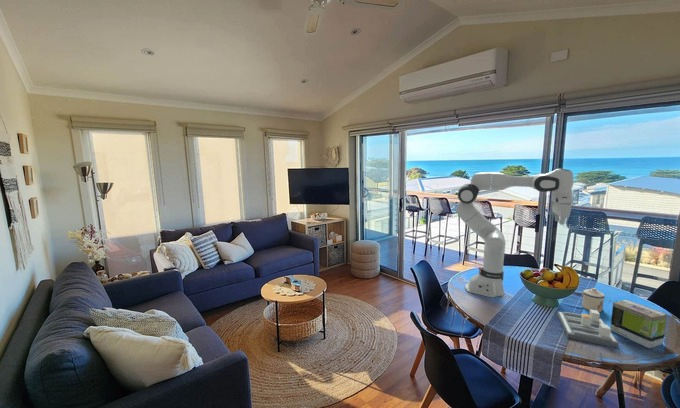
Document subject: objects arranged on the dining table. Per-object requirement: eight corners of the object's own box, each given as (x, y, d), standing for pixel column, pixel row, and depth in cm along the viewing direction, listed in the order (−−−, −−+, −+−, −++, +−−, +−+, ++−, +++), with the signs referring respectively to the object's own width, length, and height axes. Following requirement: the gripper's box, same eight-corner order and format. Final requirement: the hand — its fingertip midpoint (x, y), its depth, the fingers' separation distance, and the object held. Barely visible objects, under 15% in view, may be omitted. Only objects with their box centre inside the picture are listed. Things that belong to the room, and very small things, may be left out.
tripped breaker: (582, 327, 141) (583, 316, 140) (580, 323, 144) (581, 313, 143) (590, 328, 139) (591, 318, 139) (588, 324, 143) (589, 314, 142)
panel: (567, 337, 136) (568, 323, 135) (557, 314, 156) (558, 302, 155) (618, 347, 128) (620, 333, 127) (600, 322, 148) (602, 309, 147)
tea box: (663, 344, 130) (668, 313, 127) (648, 349, 127) (653, 317, 125) (623, 326, 144) (626, 298, 142) (608, 330, 141) (612, 301, 139)
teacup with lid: (601, 314, 155) (604, 293, 153) (579, 308, 162) (582, 288, 160) (604, 306, 163) (607, 286, 161) (583, 301, 170) (585, 282, 168)
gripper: (549, 195, 171) (547, 218, 173) (559, 200, 153) (557, 226, 155) (563, 196, 169) (560, 219, 171) (574, 200, 150) (571, 227, 152)
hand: (559, 222), depth 163 cm, fingers open, 8 cm apart
